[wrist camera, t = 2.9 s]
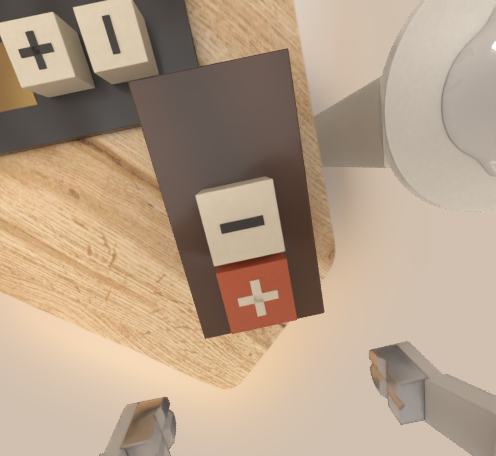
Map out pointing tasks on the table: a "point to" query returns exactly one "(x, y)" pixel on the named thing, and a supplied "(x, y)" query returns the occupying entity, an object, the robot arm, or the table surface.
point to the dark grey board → (104, 94)
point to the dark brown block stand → (229, 164)
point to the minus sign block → (116, 40)
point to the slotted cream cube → (241, 220)
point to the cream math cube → (46, 55)
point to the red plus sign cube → (257, 292)
